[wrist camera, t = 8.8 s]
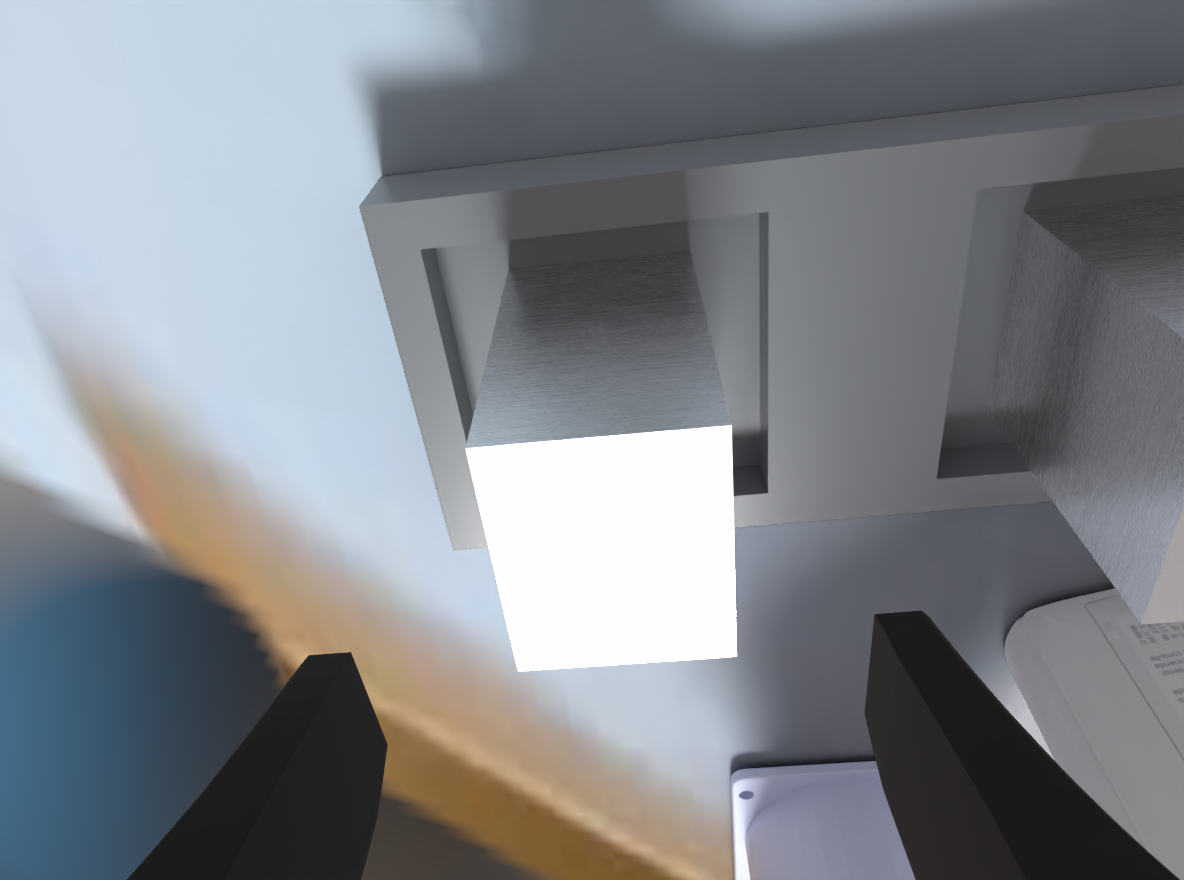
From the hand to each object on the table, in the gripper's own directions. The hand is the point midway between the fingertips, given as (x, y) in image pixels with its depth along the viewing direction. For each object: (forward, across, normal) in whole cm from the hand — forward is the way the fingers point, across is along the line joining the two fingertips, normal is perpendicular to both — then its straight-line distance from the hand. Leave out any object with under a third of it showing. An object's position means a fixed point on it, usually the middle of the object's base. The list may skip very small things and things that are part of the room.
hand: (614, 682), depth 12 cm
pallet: (+10, -6, 0) cm, 12 cm away
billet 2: (+10, -11, 0) cm, 15 cm away
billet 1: (+10, 0, 0) cm, 10 cm away
